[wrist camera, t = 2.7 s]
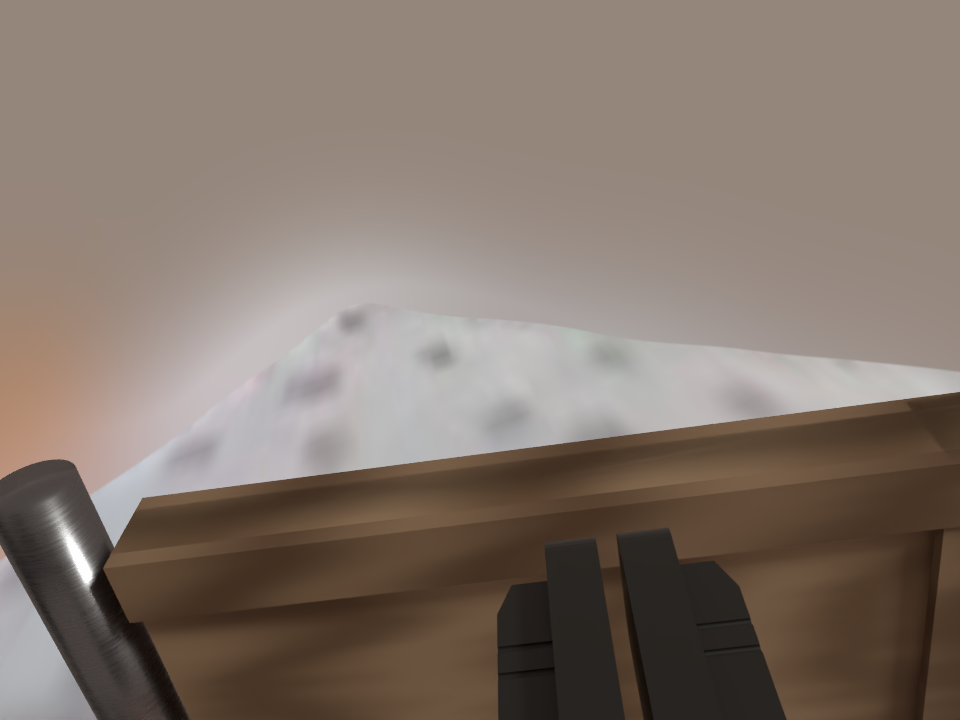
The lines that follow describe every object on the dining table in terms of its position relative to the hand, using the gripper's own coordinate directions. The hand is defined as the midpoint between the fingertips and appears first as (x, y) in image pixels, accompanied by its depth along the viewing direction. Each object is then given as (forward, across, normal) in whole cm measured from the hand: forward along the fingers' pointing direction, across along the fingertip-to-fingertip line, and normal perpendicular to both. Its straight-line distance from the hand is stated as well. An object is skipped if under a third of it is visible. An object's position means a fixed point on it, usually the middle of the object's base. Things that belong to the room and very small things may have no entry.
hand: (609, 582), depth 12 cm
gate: (+6, +1, +18) cm, 19 cm away
